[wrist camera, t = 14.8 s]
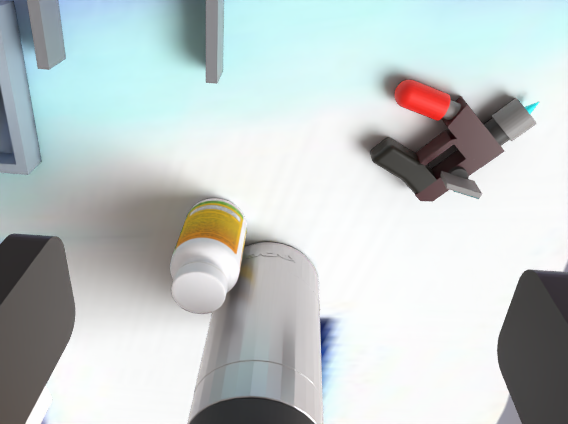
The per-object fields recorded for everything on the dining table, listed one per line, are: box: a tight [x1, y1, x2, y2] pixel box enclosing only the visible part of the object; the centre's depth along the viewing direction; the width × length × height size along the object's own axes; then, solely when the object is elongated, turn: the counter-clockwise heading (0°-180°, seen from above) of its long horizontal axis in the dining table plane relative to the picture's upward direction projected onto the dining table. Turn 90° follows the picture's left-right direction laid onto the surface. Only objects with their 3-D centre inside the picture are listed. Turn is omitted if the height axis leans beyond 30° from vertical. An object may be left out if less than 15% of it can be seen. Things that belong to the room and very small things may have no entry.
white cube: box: [25, 385, 53, 424], centre depth 56 cm, size 5×5×5 cm
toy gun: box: [370, 80, 539, 201], centre depth 40 cm, size 10×12×5 cm
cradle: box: [27, 0, 224, 83], centre depth 37 cm, size 8×13×3 cm, turn 86°
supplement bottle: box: [170, 198, 247, 314], centre depth 43 cm, size 5×5×10 cm
